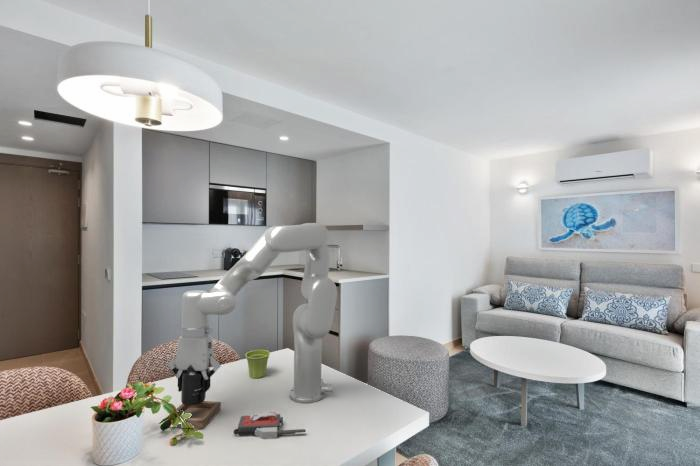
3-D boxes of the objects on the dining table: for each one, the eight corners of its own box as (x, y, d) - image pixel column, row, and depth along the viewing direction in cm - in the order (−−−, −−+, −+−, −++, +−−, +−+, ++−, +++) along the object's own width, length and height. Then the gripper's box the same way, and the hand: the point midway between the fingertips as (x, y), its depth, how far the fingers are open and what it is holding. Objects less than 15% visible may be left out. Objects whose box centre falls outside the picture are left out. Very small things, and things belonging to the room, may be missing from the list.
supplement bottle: (199, 406, 104) (200, 365, 104) (176, 406, 104) (177, 365, 104) (209, 395, 110) (210, 357, 110) (188, 395, 111) (188, 357, 111)
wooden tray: (220, 409, 112) (220, 401, 112) (202, 429, 101) (202, 420, 101) (186, 407, 113) (186, 399, 113) (164, 427, 102) (164, 418, 102)
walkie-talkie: (231, 442, 96) (305, 438, 98) (231, 425, 96) (305, 422, 98) (237, 424, 105) (305, 421, 107) (238, 409, 105) (306, 406, 107)
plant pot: (266, 380, 135) (266, 358, 135) (241, 380, 135) (242, 357, 135) (272, 371, 144) (272, 349, 144) (249, 370, 144) (249, 349, 144)
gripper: (227, 329, 110) (226, 386, 110) (175, 327, 112) (173, 383, 112) (216, 336, 103) (215, 397, 103) (160, 333, 104) (159, 394, 104)
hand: (193, 389), depth 107 cm, fingers closed on supplement bottle, 6 cm apart
